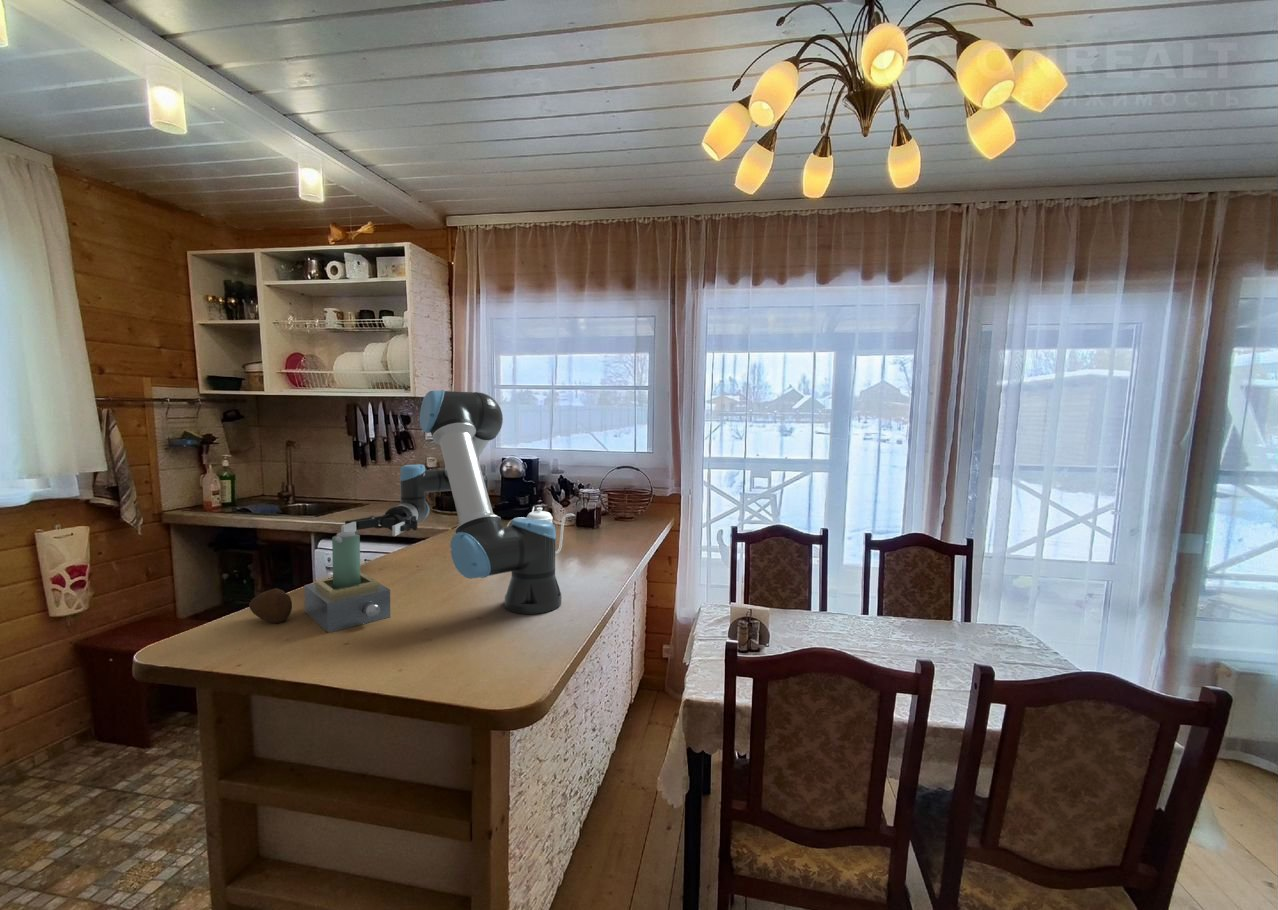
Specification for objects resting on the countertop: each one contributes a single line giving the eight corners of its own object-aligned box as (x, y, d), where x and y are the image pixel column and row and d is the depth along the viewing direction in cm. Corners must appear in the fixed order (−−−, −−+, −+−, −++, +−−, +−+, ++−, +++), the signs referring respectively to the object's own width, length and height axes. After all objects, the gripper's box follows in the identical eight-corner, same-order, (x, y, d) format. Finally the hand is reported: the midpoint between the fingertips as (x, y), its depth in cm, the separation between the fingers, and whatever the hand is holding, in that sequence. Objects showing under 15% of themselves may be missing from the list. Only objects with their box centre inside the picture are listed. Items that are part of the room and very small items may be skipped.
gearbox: (395, 620, 128) (394, 586, 128) (332, 636, 118) (331, 600, 117) (363, 599, 142) (363, 568, 142) (305, 612, 132) (304, 579, 132)
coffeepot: (571, 565, 179) (572, 511, 178) (501, 562, 181) (501, 508, 180) (578, 557, 190) (578, 506, 188) (511, 554, 192) (511, 503, 191)
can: (341, 583, 134) (340, 530, 133) (365, 583, 134) (364, 530, 133) (325, 592, 126) (323, 536, 125) (350, 593, 127) (349, 537, 126)
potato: (277, 628, 122) (276, 595, 121) (242, 624, 124) (241, 592, 123) (303, 617, 129) (302, 586, 129) (269, 613, 131) (268, 582, 130)
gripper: (441, 529, 163) (415, 544, 142) (360, 529, 162) (321, 544, 141) (441, 505, 163) (414, 517, 141) (359, 505, 162) (320, 517, 140)
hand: (368, 531), depth 141 cm, fingers open, 13 cm apart
